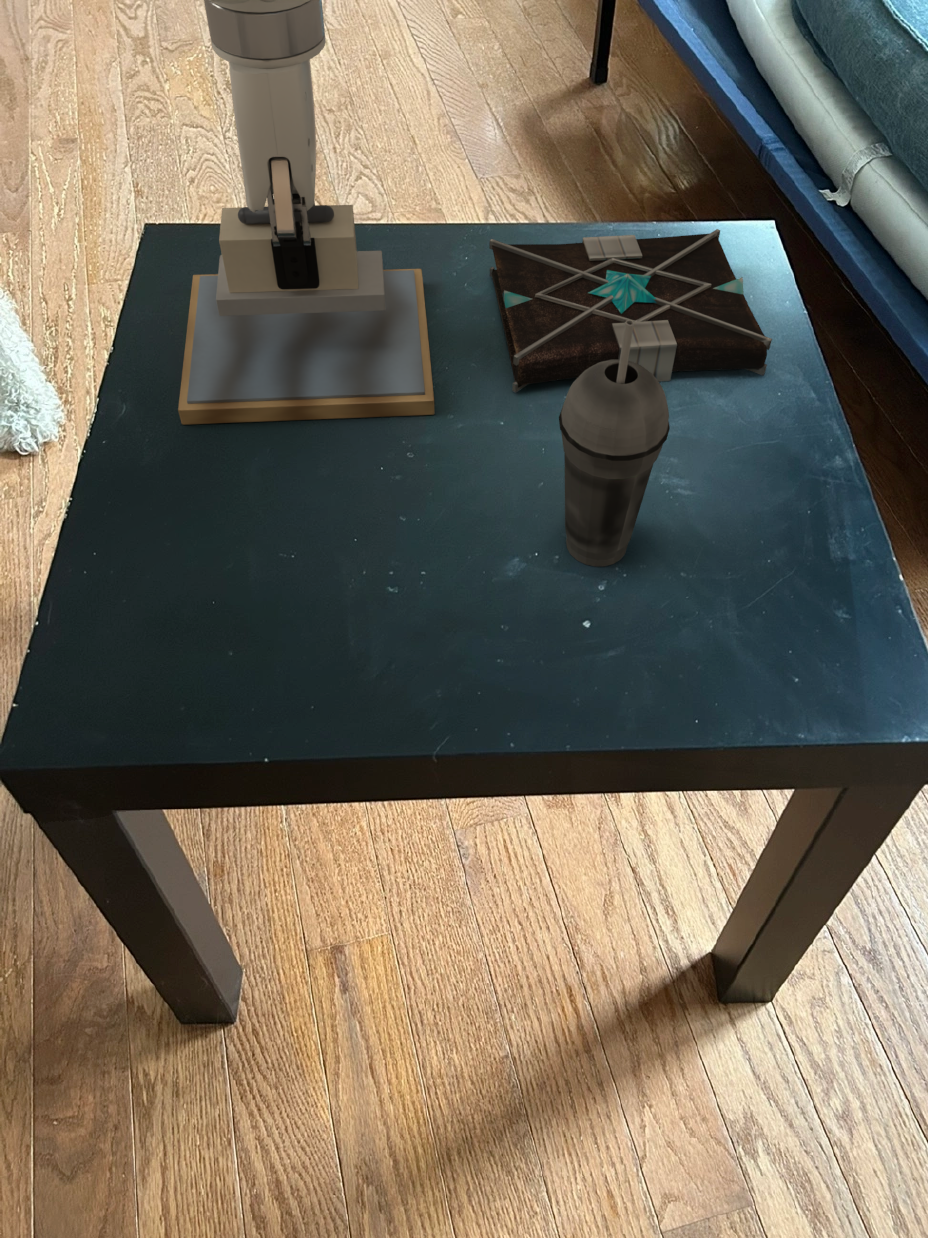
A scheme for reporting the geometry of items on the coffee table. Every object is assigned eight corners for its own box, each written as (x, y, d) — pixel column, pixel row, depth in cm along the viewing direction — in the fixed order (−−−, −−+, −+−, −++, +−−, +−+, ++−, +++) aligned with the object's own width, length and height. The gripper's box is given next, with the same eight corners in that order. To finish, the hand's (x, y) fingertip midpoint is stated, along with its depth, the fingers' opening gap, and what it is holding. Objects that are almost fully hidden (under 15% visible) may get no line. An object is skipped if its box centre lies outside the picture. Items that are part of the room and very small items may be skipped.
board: (181, 425, 87) (177, 407, 86) (196, 289, 98) (192, 271, 96) (434, 415, 89) (434, 397, 88) (422, 283, 100) (421, 265, 98)
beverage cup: (647, 513, 83) (692, 279, 67) (644, 585, 79) (691, 354, 63) (551, 504, 83) (573, 268, 67) (543, 575, 79) (564, 342, 63)
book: (512, 395, 91) (515, 344, 87) (484, 274, 101) (485, 224, 96) (765, 377, 93) (779, 327, 89) (714, 262, 103) (724, 212, 99)
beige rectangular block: (219, 316, 86) (201, 232, 81) (222, 271, 90) (206, 187, 84) (385, 310, 88) (379, 227, 82) (382, 266, 91) (377, 183, 85)
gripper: (214, -36, 77) (254, 209, 92) (199, 82, 67) (247, 335, 82) (323, -37, 78) (345, 207, 92) (324, 80, 68) (349, 332, 83)
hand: (299, 265), depth 87 cm, fingers closed on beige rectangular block, 4 cm apart
